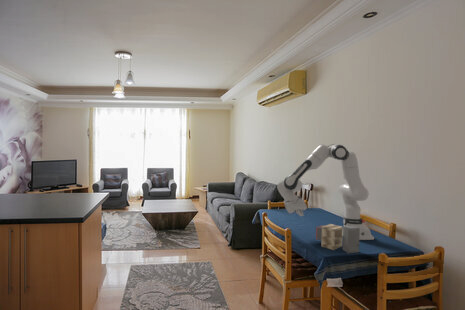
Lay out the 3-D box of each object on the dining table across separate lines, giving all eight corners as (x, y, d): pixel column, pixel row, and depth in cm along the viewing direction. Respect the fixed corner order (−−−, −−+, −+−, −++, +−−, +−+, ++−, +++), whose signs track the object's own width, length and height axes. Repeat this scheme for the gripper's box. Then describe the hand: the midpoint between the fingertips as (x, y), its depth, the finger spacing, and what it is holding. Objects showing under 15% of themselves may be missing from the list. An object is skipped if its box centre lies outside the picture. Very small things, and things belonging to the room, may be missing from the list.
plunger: (315, 239, 207) (316, 227, 207) (322, 236, 213) (322, 225, 213) (323, 241, 203) (324, 229, 203) (330, 239, 209) (330, 227, 208)
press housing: (321, 246, 203) (321, 226, 202) (329, 243, 210) (330, 223, 210) (333, 250, 196) (334, 229, 196) (341, 246, 204) (342, 226, 203)
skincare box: (348, 253, 191) (349, 228, 190) (341, 249, 198) (342, 225, 197) (359, 252, 193) (360, 228, 192) (352, 248, 200) (353, 225, 199)
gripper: (285, 199, 218) (296, 215, 211) (302, 196, 232) (312, 211, 225) (280, 204, 222) (290, 220, 215) (297, 201, 236) (307, 216, 229)
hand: (302, 215), depth 220 cm, fingers closed
